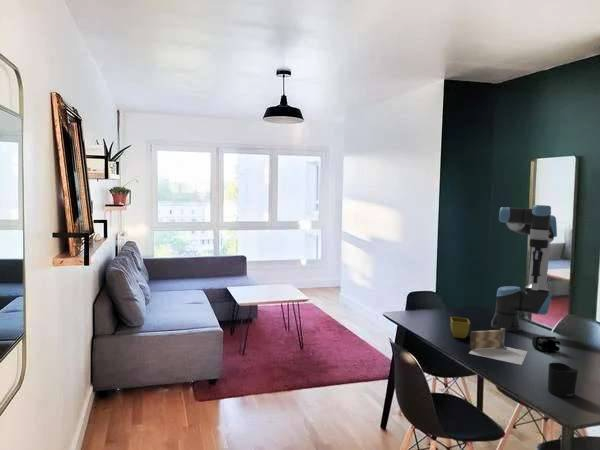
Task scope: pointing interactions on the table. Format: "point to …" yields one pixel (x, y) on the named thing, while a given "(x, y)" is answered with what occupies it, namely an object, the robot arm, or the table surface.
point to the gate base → (502, 354)
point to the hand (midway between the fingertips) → (534, 289)
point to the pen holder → (562, 380)
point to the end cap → (546, 344)
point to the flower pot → (459, 327)
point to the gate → (487, 339)
